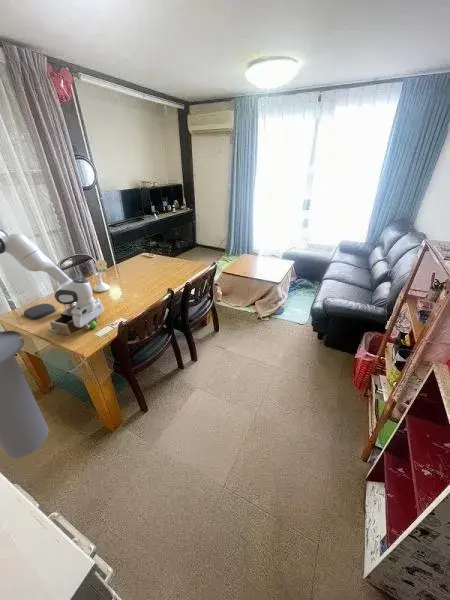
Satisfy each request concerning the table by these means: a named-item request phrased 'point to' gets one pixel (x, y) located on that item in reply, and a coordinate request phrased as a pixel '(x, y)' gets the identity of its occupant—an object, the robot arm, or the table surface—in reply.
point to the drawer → (62, 325)
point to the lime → (92, 324)
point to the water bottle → (67, 304)
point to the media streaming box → (39, 311)
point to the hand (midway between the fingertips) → (92, 325)
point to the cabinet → (68, 313)
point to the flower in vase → (100, 286)
